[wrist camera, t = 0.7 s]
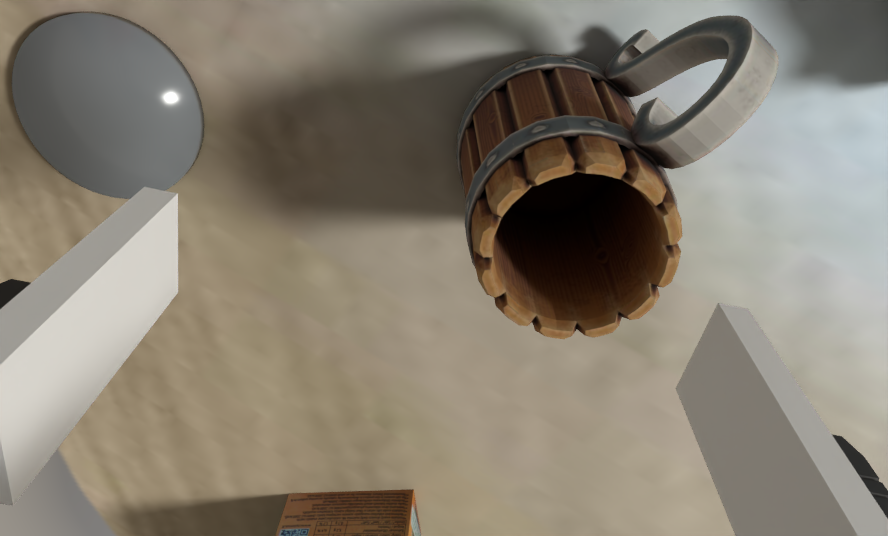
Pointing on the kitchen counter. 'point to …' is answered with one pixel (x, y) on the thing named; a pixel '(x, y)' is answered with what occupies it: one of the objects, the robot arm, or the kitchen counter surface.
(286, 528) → the milk carton
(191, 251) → the kitchen counter surface
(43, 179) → the kitchen counter surface
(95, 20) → the coaster
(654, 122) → the mug
